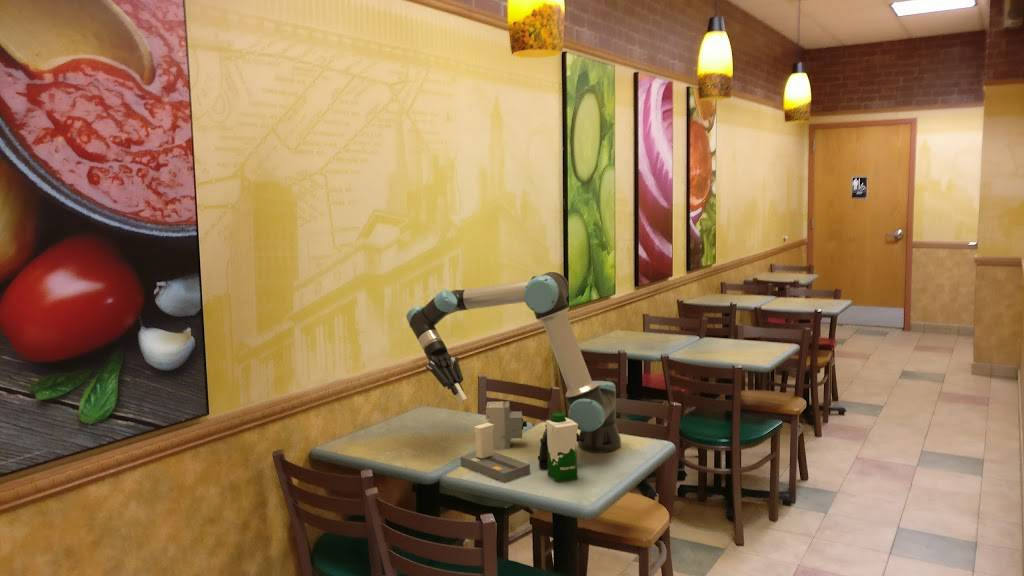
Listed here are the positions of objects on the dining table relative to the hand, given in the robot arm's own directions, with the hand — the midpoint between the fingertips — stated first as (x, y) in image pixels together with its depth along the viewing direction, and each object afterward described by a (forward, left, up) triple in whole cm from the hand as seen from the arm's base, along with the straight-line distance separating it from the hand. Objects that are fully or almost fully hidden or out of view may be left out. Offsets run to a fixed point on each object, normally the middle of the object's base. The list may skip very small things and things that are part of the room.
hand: (463, 401), depth 271 cm
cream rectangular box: (-10, +3, -17) cm, 20 cm away
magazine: (-32, -6, -20) cm, 39 cm away
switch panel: (-14, +5, -20) cm, 25 cm away
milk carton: (-37, +2, -20) cm, 43 cm away
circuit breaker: (-6, -18, -20) cm, 28 cm away
